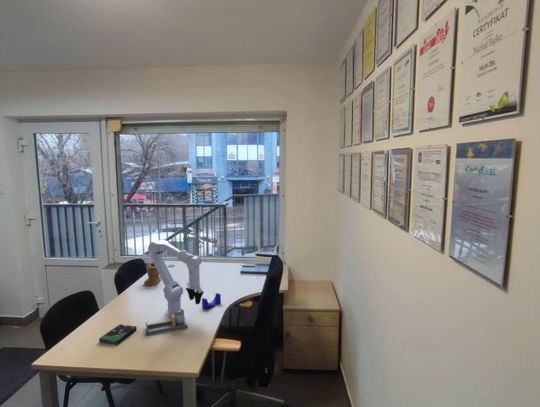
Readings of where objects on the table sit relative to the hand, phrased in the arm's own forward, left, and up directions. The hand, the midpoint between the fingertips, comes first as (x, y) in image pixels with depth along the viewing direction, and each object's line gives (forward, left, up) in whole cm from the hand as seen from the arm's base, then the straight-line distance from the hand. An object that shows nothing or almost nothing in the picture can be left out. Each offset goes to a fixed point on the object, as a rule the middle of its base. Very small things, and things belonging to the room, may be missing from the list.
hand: (194, 301), depth 177 cm
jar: (+6, -9, -8) cm, 14 cm away
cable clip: (-12, +13, -10) cm, 20 cm away
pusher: (+6, -12, -9) cm, 16 cm away
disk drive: (+5, -39, -10) cm, 40 cm away
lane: (+6, -16, -9) cm, 20 cm away
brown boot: (-70, -17, -10) cm, 73 cm away
